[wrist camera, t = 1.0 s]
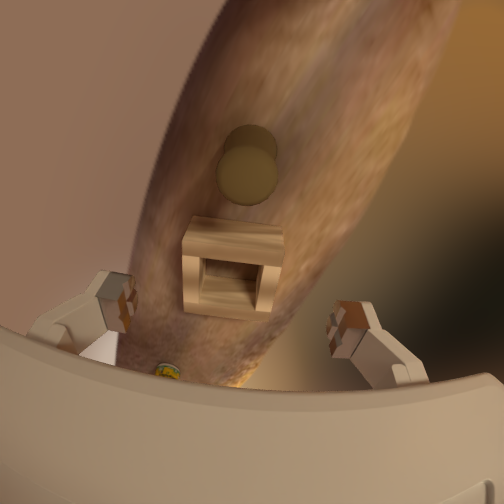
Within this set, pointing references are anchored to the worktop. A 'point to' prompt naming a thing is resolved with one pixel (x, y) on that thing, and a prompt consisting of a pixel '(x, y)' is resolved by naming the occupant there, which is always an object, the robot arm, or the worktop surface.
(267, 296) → the shaker holder
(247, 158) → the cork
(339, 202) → the worktop surface
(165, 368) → the supplement bottle
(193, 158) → the worktop surface
